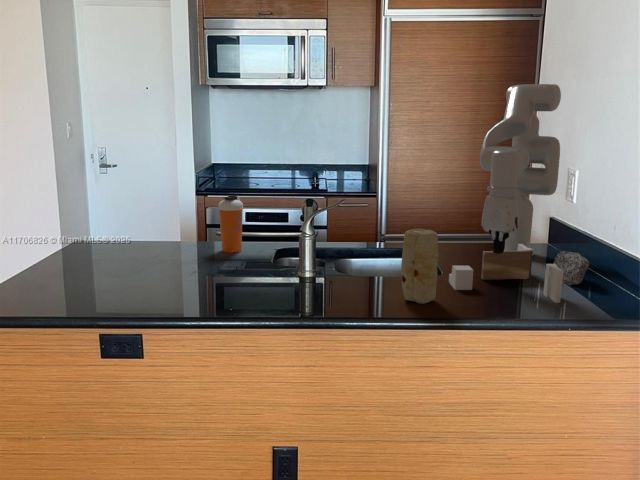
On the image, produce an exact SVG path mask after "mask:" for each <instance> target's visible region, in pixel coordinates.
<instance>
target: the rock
mask: <svg viewBox="0 0 640 480" xmlns="http://www.w3.org/2000/svg"><path fill="white" fill-rule="evenodd" d="M553 261H554V262H553V263H552V264H556V265H557V266H558V268H560V269H561V270H563V280H562V284H565V285H566V286H573V285H579V284H581V283H582V281H583V279H584V277H585V274H586V272H587V270H588V269H589V266H590V260H588V259H587V258H586V257H584V256H583V255H581V254H580V253H579V252H574V251H573V252H572V251H566V250H563V251H560V252H559V253H557V255H556V256H555V258H554V260H553Z"/></svg>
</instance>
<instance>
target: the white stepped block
mask: <svg viewBox="0 0 640 480" xmlns="http://www.w3.org/2000/svg"><path fill="white" fill-rule="evenodd" d="M473 281H474V269H473V268H472V267H471V266H470V265H451V273H449V274H448V283H449V284H450V285H451V287H452V289H454V290H455V291H472V290H473Z"/></svg>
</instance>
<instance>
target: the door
mask: <svg viewBox="0 0 640 480" xmlns="http://www.w3.org/2000/svg"><path fill="white" fill-rule="evenodd" d="M533 251H534V250H533ZM533 251H504V252H503V253H500V254H497V253H493V250H490V251H485V250H483V251H482V259H481V260H482V261H481V262H482V263H481V274H480V275H481V277H480V279H482V280H484V281H485V280H515V279H516V280H519V279H520V280H522V279H525V280H527V281H529V280H531V276H532V264H533V256H534V255H533ZM532 255H533V256H532Z"/></svg>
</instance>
